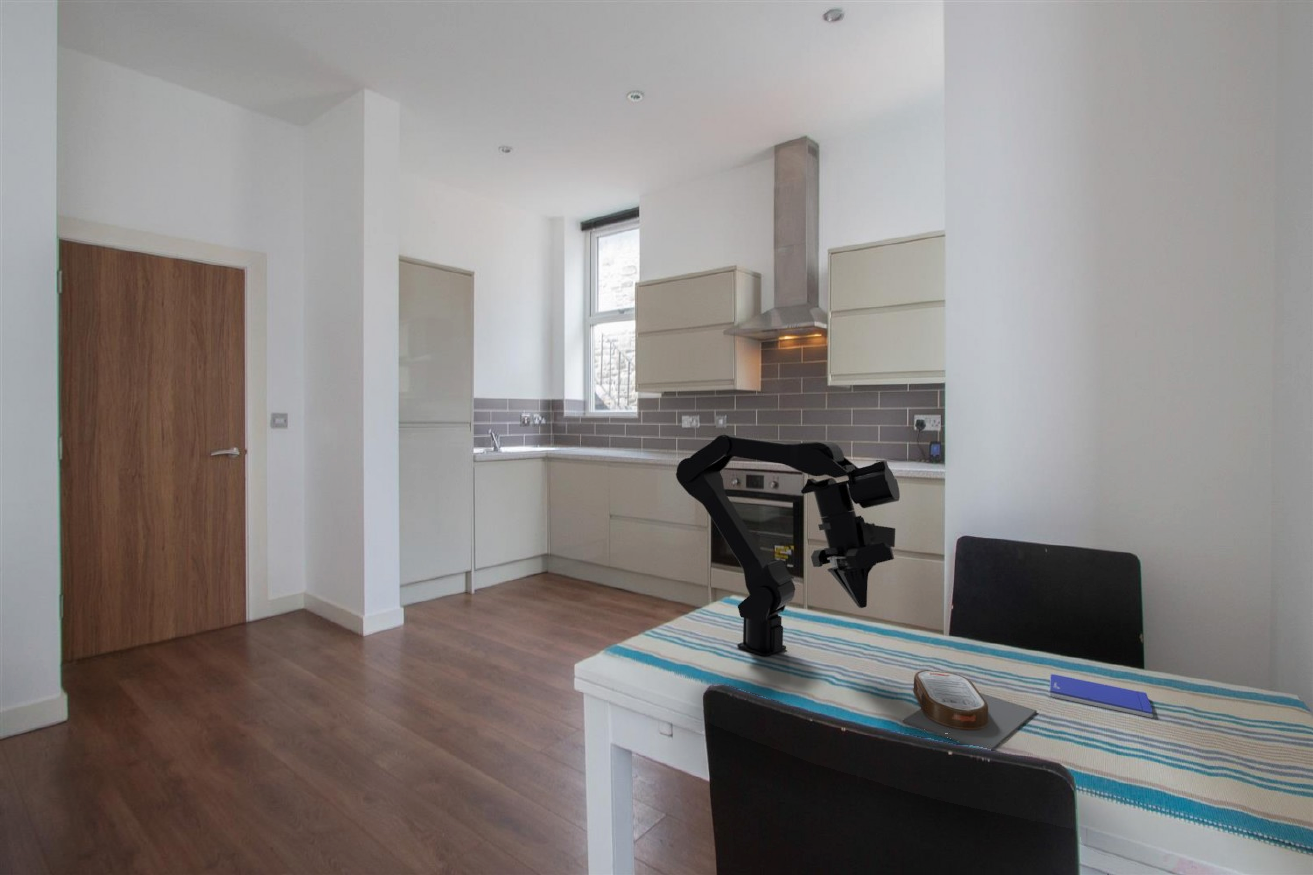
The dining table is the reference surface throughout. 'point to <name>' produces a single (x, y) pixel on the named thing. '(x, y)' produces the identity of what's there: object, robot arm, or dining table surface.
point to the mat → (1000, 726)
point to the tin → (950, 700)
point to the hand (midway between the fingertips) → (862, 607)
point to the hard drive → (1100, 695)
